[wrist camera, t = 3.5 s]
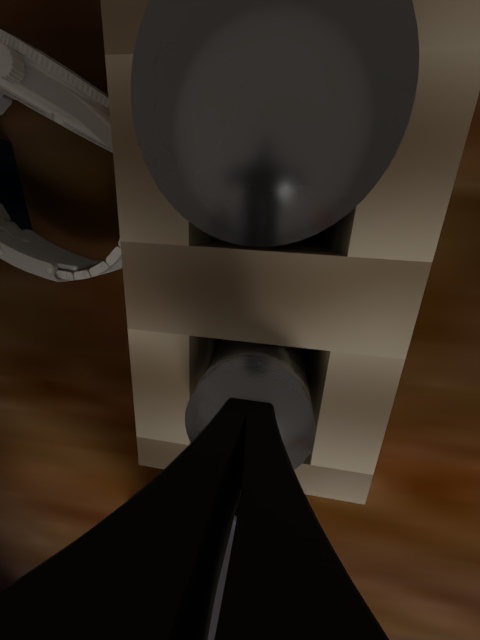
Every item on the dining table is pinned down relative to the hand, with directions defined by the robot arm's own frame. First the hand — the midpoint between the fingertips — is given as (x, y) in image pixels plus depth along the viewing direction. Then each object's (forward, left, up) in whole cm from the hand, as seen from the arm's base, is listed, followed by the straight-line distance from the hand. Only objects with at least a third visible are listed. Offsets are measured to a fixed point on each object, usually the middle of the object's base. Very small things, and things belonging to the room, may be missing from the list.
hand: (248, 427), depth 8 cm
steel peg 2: (0, 0, -5) cm, 5 cm away
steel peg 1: (+6, -5, -3) cm, 8 cm away
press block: (+3, -2, -6) cm, 7 cm away
